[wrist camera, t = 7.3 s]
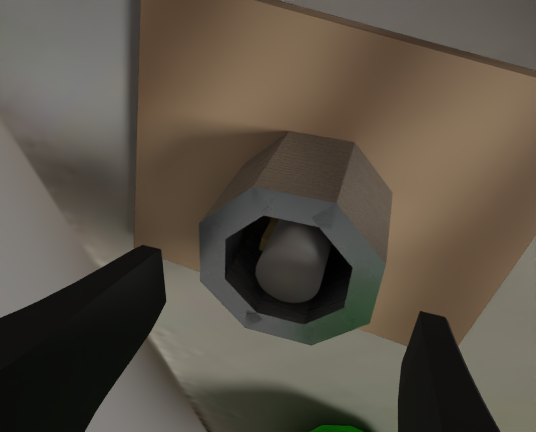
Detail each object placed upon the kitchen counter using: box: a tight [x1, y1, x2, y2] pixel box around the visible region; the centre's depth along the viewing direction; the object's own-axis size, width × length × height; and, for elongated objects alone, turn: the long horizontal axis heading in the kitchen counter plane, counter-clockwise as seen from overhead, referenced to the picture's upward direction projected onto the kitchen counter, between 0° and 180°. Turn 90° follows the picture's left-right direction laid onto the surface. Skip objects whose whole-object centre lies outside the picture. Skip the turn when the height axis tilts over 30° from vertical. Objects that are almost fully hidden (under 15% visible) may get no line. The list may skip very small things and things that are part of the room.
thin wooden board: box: [134, 0, 536, 346], centre depth 14 cm, size 14×11×4 cm
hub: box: [199, 131, 393, 345], centre depth 14 cm, size 5×5×4 cm
